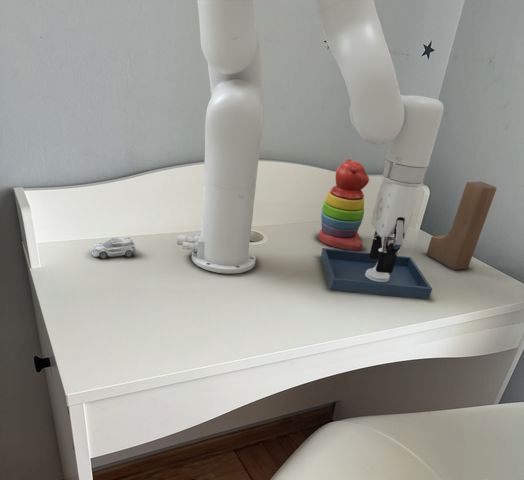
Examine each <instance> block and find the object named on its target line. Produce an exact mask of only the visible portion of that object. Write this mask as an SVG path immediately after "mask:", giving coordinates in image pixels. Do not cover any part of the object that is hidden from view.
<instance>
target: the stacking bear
mask: <svg viewBox="0 0 524 480" xmlns="http://www.w3.org/2000/svg"><path fill="white" fill-rule="evenodd" d="M369 182H370V176H369V175H368V174H367V172H366V170H365V167H364V165H362V164H361V163H360V162H358V161H352V158H348V159H346V160H345V161H344V162H342V163H341V164H339V166H338V167H337V169H336V171H335V185H334V186H333V187H332V188H331V189H330V190H329V191H328V193H327V195H326V197H325V200H324V201H323V204H322V208H321V215H320V219H321V223H320V224H321V225H320V226H321V229H320V231H319V232H318V235H317V238H318V240H319V241H320V242H321V243H323V244H325V245H328V246H330V247H334V248H337V249H340V250H347V251H357V252H360V251H361V250H363V245H364V244H363V241H361V239H359V235H360V234H359V232H358V231H359V229H360V227H361V225H362V223H363V219H364V214H365V198H364V197H365V195H364V191H363V189H364V188H365V187H367V185H368V184H369Z"/></svg>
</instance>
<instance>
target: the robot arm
mask: <svg viewBox="0 0 524 480" xmlns="http://www.w3.org/2000/svg"><path fill="white" fill-rule="evenodd" d="M196 3H197V11H198V12H197V13H198V21H199V39H200V40H199V41H200V48H201V51H202V54H203V57H204V59H205V60H206V62H207V69H208V79H209V88H210V95H211V98H210V99H209V101H208V104H207V108H206V112H205V120H204V121H205V122H204V163H203V164H204V166H203V186H202V187H203V189H202V205H201V206H202V207H201V225H200V231H199V234H198V235H194V236H188V235H181V234H178V235H177V239H176V240H177V241H176V244H177V246H181V249H182V250H185V251H186V250H187V251H188V250H190V251H192V252H191V260H192V262H193V264H195V265H196V266H197V267H199V268H201V269H203V270H205V271H209V272H213V273H218V274H227V275H228V274H229V275H230V274H232V275H233V274H241V273H245V272H248V271H250V270H252V269H253V268H254V267H255V265H256V256H255V254H254V253H253V252H252V251H250V242H251V234H252V233H251V232H252V225H253V216H254V206H255V198H256V197H255V196H256V189H257V188H256V187H257V176H258V169H259V168H258V167H259V159H260V151H261V142H262V137H263V129H264V119H265V107H264V106H265V105H264V104H265V103H264V94H263V93H264V92H263V75H262V60H261V44H260V43H261V42H260V32H259V28H258V25H257V23H256V20H255V12H254V0H196ZM313 4H314V7H315V11H316V15H317V18H318V21H319V24H320V28H321V31H322V34H323V38H324V40H325V43H326V45H327V48H328V49H329V51H330V52H331V54H332V56H333V57H334V59H335V61H336V63H337V65H338V68H339V71H340V73H341V75H342V78H343V81H344V83H345V87H346V90H347V93H348V96H349V100H350V105H349V113H348V115H349V120H350V123H351V125H352V127H353V128H354V130H355V131H356V132H357V133H358V134H359V135H360V137H361V138H362V139H363V140H364V141H366V142H368V143H369V144H372V145H378V146H380V145H381V146H382V145H385V144H388V148H387V152H386V157H385V161H384V165H383V168H382V173H381V179H382V180H381V184H380V186H379V190H378V192H377V197H376V200H375V203H374V208H373V211H372V214H371V218H370V222H371V224H372V227H373V228H374V230H375V232H374V234H373V239H372V243H371V247H370V251H369V253H370V255H369V257H370V258H371V259H378V262H377V266H376V271H377V272H383V273H392V272H393V268H394V264H395V261H396V257H397V256H399V252H400V249H401V247H402V246H403V243H404V240H405V239H406V238H407V237H408V236H407V235H408V233H409V230H410V226H411V223H412V218H413V215H414V212H415V211H414V210H415V206H416V201H417V196H418V192H419V187H422V186H424V183H425V178H426V175H427V172H428V168H429V165H430V161H431V157H432V153H433V150H434V147H435V143H436V141H437V136H438V133H439V129H440V125H441V122H442V118H443V116H444V115H443V114H444V109H445V108H444V103H442V101H441V100H439V99H436V98H432V97H428V96H424V95H423V96H422V95H416V94H415V95H414V94H412V95H410V94H409V95H403V94H401V90H400V86H399V85H400V84H399V82H398V77H397V74H396V73H397V72H396V69H395V66H394V63H393V58H392V55H391V53H390V50H389V47H388V44H387V41H386V37H385V35H384V31H383V28H382V24H381V21H380V18H379V14H378V12H377V8H376V4H375V1H374V0H313ZM390 234H393V235H394V236H391V235H390ZM388 236H389V237H388ZM382 238H384V244H383V250H382V251H380V252H379V251H378V250H379V248H382ZM389 240H392V242H391V243H390V244H389V245H388V241H389Z"/></svg>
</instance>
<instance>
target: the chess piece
mask: <svg viewBox="0 0 524 480" xmlns="http://www.w3.org/2000/svg"><path fill="white" fill-rule="evenodd" d="M393 235H394V234H390V236H391V237H394V236H393ZM390 236H388V237H390ZM390 243H393V240H389V241H388V245H389V244H390ZM383 244H384V238H382V248H379V250H378V251H379V252H380V251H382V250H383ZM376 266H377V264H376ZM376 266H375V267H374V268H371V269H368V270H367V271H366V273H365V276H366V277H367V278H369V279H370V280H373V281H377V282H387V281H389V277H390V275H389V274H388V273H383V272H377V271H376Z"/></svg>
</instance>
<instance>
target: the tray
mask: <svg viewBox="0 0 524 480" xmlns="http://www.w3.org/2000/svg"><path fill="white" fill-rule="evenodd" d="M369 255H370V252H367V251H354V250H346V249H338V248H337V249H336V248H327V247H322V250H321V256H320V261H321V264H322V267H323V270H324V273H325V277H326V280H327V284H328V287H329V290H330V291H336V292H345V293H355V294H356V293H357V294H368V295H377V296H387V297H388V296H389V297H397V298H408V299H419V300H430V297H431V294H432V292H433V287H432V286H431V284H430V283H429V281H428V280H427V278H426V277H425V275H424V274H423V272H422V271H421V269H420V268H419V267H418V266H417V264H416V262H415V261H414V259H413V258H412V257H411V256H404V255H397V257H396V261H395V264H394V268H393V272H392V273H388V274H389V275H390V277H389V281H387V282H377V281H373V280H370V279H369V278H367V277H366V276H365V273H366V271H367V270H368V269H371V268H374V267H375V266H376V264H377V262H378V259H371V258H370V257H369Z"/></svg>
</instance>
